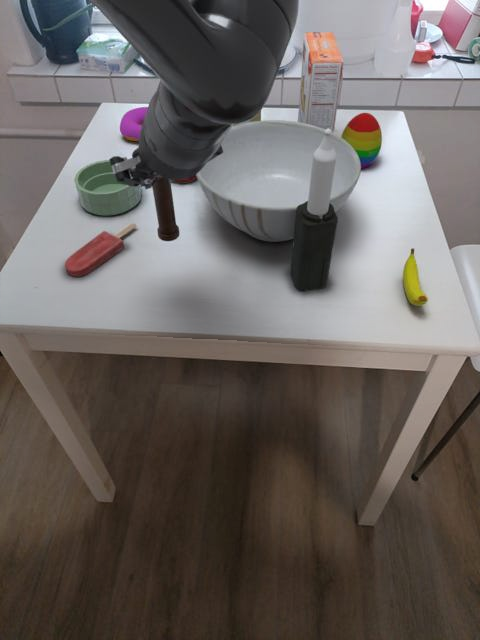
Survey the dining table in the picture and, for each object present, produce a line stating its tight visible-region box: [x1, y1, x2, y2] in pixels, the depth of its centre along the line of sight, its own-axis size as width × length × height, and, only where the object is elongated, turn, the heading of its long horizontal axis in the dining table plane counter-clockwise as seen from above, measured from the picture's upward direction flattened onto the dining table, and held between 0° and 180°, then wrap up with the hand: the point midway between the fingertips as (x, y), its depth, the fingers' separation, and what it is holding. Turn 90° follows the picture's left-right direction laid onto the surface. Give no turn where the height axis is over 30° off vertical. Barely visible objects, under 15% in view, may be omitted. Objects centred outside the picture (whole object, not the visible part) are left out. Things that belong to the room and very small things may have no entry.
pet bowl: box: [73, 159, 142, 217], centre depth 90 cm, size 11×11×5 cm
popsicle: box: [64, 223, 137, 277], centre depth 82 cm, size 4×2×15 cm
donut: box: [119, 106, 148, 142], centre depth 107 cm, size 10×10×5 cm
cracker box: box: [297, 31, 344, 134], centre depth 96 cm, size 14×6×21 cm, turn 0°
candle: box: [289, 129, 339, 292], centre depth 68 cm, size 5×5×25 cm
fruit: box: [402, 248, 429, 307], centre depth 74 cm, size 10×2×5 cm, turn 177°
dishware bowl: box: [196, 119, 362, 243], centre depth 83 cm, size 27×27×12 cm
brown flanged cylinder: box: [151, 177, 180, 242], centre depth 64 cm, size 3×3×12 cm
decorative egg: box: [340, 112, 383, 169], centre depth 97 cm, size 8×8×10 cm
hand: (155, 178), depth 64 cm, fingers closed on brown flanged cylinder, 2 cm apart
